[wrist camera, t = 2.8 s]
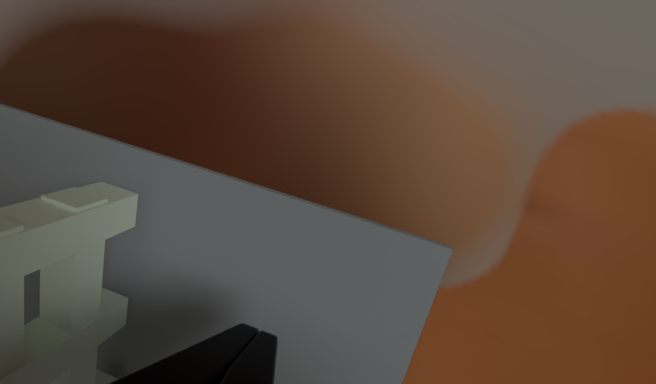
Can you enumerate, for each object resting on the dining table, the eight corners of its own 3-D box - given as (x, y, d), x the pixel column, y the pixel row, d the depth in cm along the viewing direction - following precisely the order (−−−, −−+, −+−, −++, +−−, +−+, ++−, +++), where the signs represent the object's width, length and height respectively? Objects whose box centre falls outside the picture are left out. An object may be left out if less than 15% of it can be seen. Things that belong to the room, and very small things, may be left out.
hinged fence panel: (117, 409, 12) (-33, 563, 8) (87, 396, 13) (-73, 540, 9) (138, 190, 10) (-55, 253, 6) (101, 178, 10) (-110, 231, 6)
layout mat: (452, 246, 9) (453, 250, 9) (302, 640, 14) (300, 649, 14) (-189, 43, 13) (-201, 42, 12) (-129, 416, 18) (-136, 420, 17)
